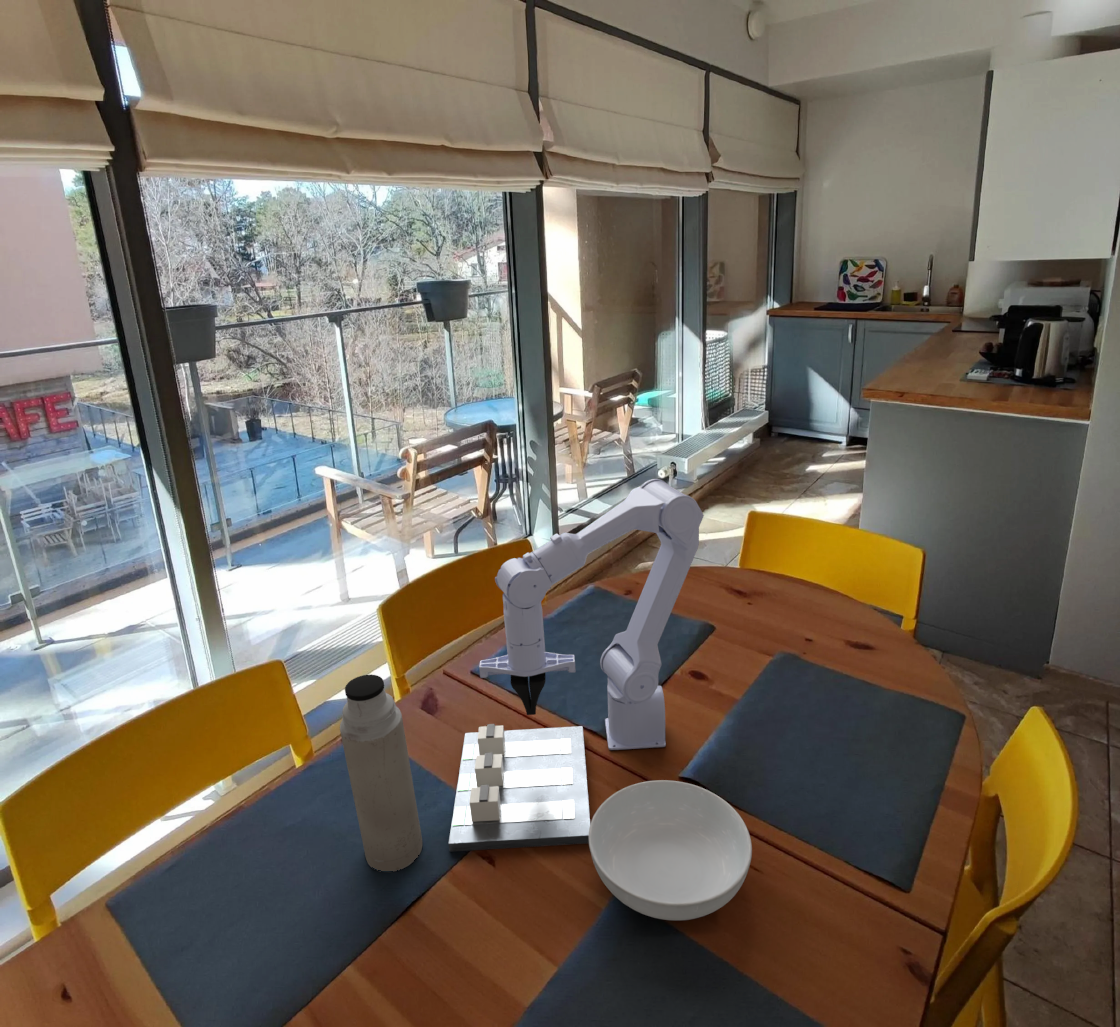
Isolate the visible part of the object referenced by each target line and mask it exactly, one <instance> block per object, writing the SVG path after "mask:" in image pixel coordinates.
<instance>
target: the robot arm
mask: <svg viewBox="0 0 1120 1027" xmlns="http://www.w3.org/2000/svg"><path fill="white" fill-rule="evenodd" d="M703 518H704V513H703V511H702V509H701V508H700V506H699V504H698V502H697V501H696V500H695V498H693V497H692V496H690V495H688V494H685V493H683V492H681V491H680V490H678V489H676V488H674V487H673V486H671V485H670V484H668V483H667V482H665V480H663V479H659V478H652V479H648V480H646V481H645V482H643V483H642V484H641V485H640V486H638V487H637V486H636V487H635V488H632V489H631V490H630V492H629V493H628V495H627V497H625V499H624V500H623V501H621V502H620V503H618V504H617V505H615V506H613V508H611V509H610V510H608V511H607V512H605V513H604V514H603V515H601V516H599V517H598V518H596V519H595V520H594V521H592V523H590V524H589V525H587V526H585V527H584V528H583V529H581V530H580V531H578V532H577V533H571V532H570V533H569V532H562V533H561V534H558V533H555V534H553V535H551V536H550V538H549V539H550V540H549V541H547V542H546V543H544V544H543V545H541V546H540V547H537V548H536V549H534V550H533V551H531V552H526V553H525V554H523V555H522V557H517V558H515V557H514V558H510V559H508V560H506V561H505V562H503V563H502V565H501V566H500V569H498V572H497V574H496V576H495V577H494V581H495V583H496V584H495V585H496V586H497V587H498V589H500V590H501V591H502V592H503V593H502V602H503V605H502V606H503V619H504V620H503V622H504V630H505V642H506V650H507V651H506V653H507V654H505V655H502V656H497V657H494V658H493V657H492V658H489V659H488V658H487V659H482V660H480V661H479V666H478V669H479V677H480V679H483V678H484V679H486V678H488V677H489V676H492V675H493V676H494V675H510V685H511V688H512V689H513V690H514V691H515V692H516V694H517V695H518V697H519V699H520V700H521V701H522V704H523V706H524V707H523V708H525V712H526V713H525V714H526V715H527V716H532V715H534V716H535V715H536V713H537V711H536V710H537V704H538V701H539V698H540V695H541V692H542V691H543V689H544V687H545V684H546V681H547V680H546V676H547V675H546V673H547V672H548V673H549V672H561V671H567V673H576V660H575V654H561V653H557V652H556V653H555V652H548V651H546V645H545V632H544V630H545V629H544V620H543V618H544V617H543V607H542V601H543V600H544V598H545V596H546V594H547V592H548V591H549V590H550V589H551V588H552V587H553V585H554V584H557V583H558V582H560V581H561V580H563V579H564V578H567V576H570V575H571V574H573V573H574V572H576V571H577V570H579V569H580V568H582V567H584V566H585V564H586V561H587V559H588V558H587V557H588V555H589V554H591V553H592V552H595V551H596V550H598V549H600V548H602V547H603V546H606V545H607V544H609V543H610V542H613V541H615V540H617V539H618V538H620V537H622V536H624V535H626V534H627V533H629V532H632V531H634V530H636V531H637V530H638V531H642V532H648V533H653V534H654V533H655V534H656V535H657V537H658V539H659V541H660V546H659V549H658V551H657V554H656V556H655V559H654V561H653V564H652V566H651V569H650V571H649V573H648V575H647V578H646V582H645V583H644V586H643V587H642V588H643V589H642V591H641V593H640V596H639V598H638V601H637V602H636V605H635V609H634V610H633V613H632V615H631V618H630V620H629V623H628V625H627V628H626V630H625V631H621V632H618V633H615V635H614V637H613V639H612V642H611V643H610V644H609V645H608V646H607V648H605V650H604V651H603V652H602V653H601V656H600V661H599V666H600V668H601V671H602V672H603V673H604V675H605V674H606V675H607V687H606V689H607V690H606V691H607V714H608V717H607V718H604V724H605V731H606V740H607V747H608V750H609V751H619V750H632V749H633V750H634V749H636V750H637V749H649V748H650V749H651V748H652V749H654V748H665V747H666V746H667V743H666V707H665V706H666V705H665V703H666V702H665V697H664V696H665V695H664V691H663V690H664V689H663V687H662V685H659V674H660V673H659V672H660V669H661V667H662V660H661V659H662V658H661V654H660V652H659V646H658V644H659V642H660V639H661V637H662V635H663V633H664V630H665V628H666V625H667V623H668V621H669V618H670V615H671V613H672V611H673V608H674V607H675V603H676V601H677V599H678V597H679V594H680V592H681V589H682V587H683V585H684V583H685V580H686V578H687V575H688V573H689V570H690V568H691V566H692V563H693V560H694V558H695V556H696V554H697V550H698V549H699V546H700V525H701V523H702V521H703Z"/></svg>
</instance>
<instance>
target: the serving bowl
mask: <svg viewBox="0 0 1120 1027" xmlns="http://www.w3.org/2000/svg"><path fill="white" fill-rule="evenodd" d="M748 829H749V828H747V825H746V823H745V822H744V820H743V818H742V817H741V815H740V814H739V812H738V811H737V810H736V809H735V807H733V806H732V805H731V804H730V803H728V802H727V801H726V800H725V799H723V798H722V797H720V796H718V795H717V793H716V794H715V793H714V792H712V791H710V790H708V789H707V788H706V789H705V788H703V787H702V786H698V785H695V784H692V783H688V782H683V781H678V780H677V781H676V780H669V779H668V780H667V779H665V780H664V779H661V780H660V779H659V780H647V781H643V782H642V781H641V782H638V783H635V784H631V785H628V786H625V787H624V788H621V789H620V790H618V791H616V792H614V793H613V794H611V795H610V796H609V797H608V798H606V799H605V800H604V801H603V802H602V803H601V805H599V807H598V808H597V810H596V811H595V813H594V814H593V816H592V819H591V820H590V828H589V843H588V847H589V851H590V855H591V860H592V863H593V866H594V868H595V870H596V872H597V874H598V876H599V878H600V879H601V882H602V883H603V884H604V885H605V886H606V888H607V889H608V890H609V891H610V893H611V894H612V895H613V896H614V897H615V898H616V899H617V900H619V901H620V902H621V903H622V904H624V905H625V906H627V907H629V908H630V909H632V910H633V911H635V912H637V913H639V914H642V915H645V916H648V917H651V918H654V919H658V920H666V921H689V920H695V919H700V918H702V917H705V916H707V915H709V914H712V913H714V912H716V911H718V910H720V908H721V909H722V908H723V907H724V906H725V905H726V904H728V903H729V902H730V901H731V900H732V899H733V898H734V897H735V896H736V895H737V893H738V891H740V889H741V887H742V886H743V883H744V882H745V879H746V877H747V875H748V872H749V869H750V865H751V861H752V855H753V846H752V840H751V835H750V832H749V830H748Z"/></svg>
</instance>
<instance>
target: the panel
mask: <svg viewBox="0 0 1120 1027" xmlns="http://www.w3.org/2000/svg"><path fill="white" fill-rule="evenodd" d="M583 727H584V726H582V725H578V726H562V727H561V726H559V727H545V728H544V727H543V728H530V729H529V728H527V729H512V730H510V729H509V730H504V736H505V752H504V755H502V758H503V767H504V779H503V786H499V794H500V803H501V808H500V820H493V821H476V822H472V818H471V810H470V795H471V788H476V787H477V783H476V775H475V763H476V755H479V747H478V732H476V731H475V732H464V739H463V746H462V753H461V759H460V765H459V766H460V767H459V771H458V772H459V774H458V779H457V785H456V793H455V799H454V806H453V812H452V818H451V826H450V831H449V832H450V833H449V837H448V850H449V852H466V851H467V852H470V851H484V850H497V849H498V850H500V849H502V850H503V849H515V848H516V849H517V848H533V847H534V848H536V847H549V846H550V847H553V846H570V845H582V844H583V845H586V844H589V828H590V824H591V819H590V815H591V814H590V805H589V804H590V802H589V792H588V780H587V779H588V778H587V777H588V776H587V764H586V755H585V754H586V752H585V739H584V728H583ZM489 787H493V786H489Z"/></svg>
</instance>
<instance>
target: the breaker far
mask: <svg viewBox="0 0 1120 1027" xmlns="http://www.w3.org/2000/svg"><path fill="white" fill-rule="evenodd" d="M486 725H487V726H486ZM486 725H484V726H479V727H478V747H479V755H485V753H492V752H493V754H502V755H504V752H505V736H504V731H505V728H504V725H495V723H489V724H488V723H487V724H486Z"/></svg>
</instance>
